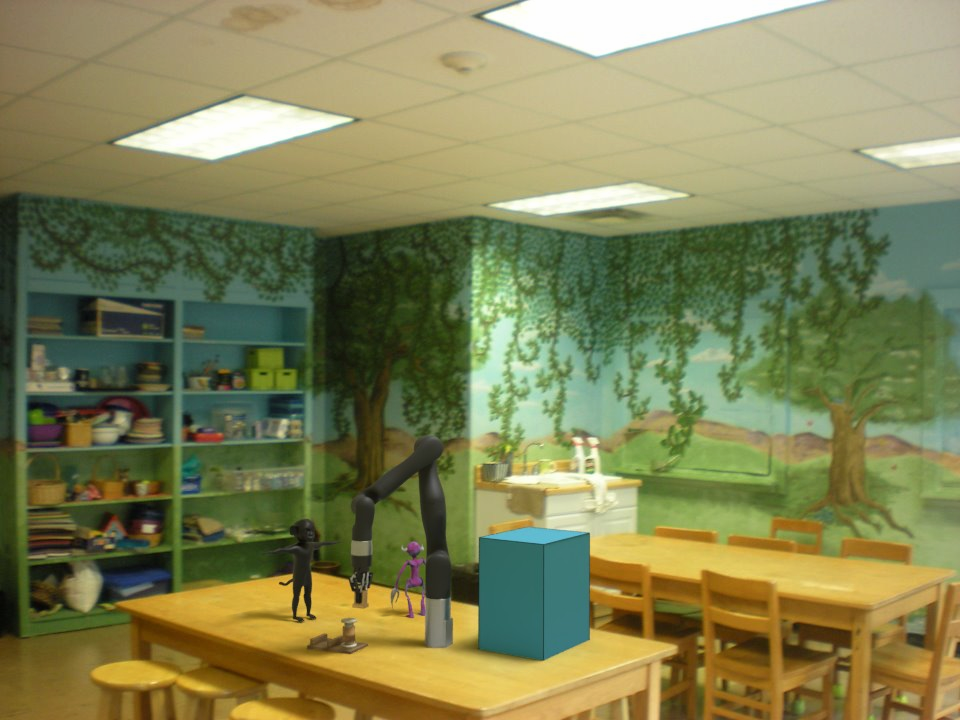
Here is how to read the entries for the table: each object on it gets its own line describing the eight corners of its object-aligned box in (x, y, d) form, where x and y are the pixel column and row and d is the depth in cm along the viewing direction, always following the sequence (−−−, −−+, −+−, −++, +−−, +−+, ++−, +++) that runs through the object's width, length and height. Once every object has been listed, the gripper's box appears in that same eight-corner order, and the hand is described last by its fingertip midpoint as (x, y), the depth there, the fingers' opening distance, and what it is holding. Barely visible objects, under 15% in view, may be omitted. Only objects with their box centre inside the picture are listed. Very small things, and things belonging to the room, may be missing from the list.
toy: (425, 610, 409) (426, 538, 410) (438, 614, 402) (439, 540, 403) (387, 617, 397) (388, 542, 398) (400, 621, 390) (400, 545, 391)
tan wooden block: (368, 606, 344) (368, 589, 345) (363, 608, 341) (363, 591, 341) (357, 605, 346) (358, 588, 346) (352, 607, 343) (352, 590, 343)
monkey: (271, 630, 374) (273, 525, 375) (238, 622, 387) (240, 520, 388) (348, 612, 404) (349, 515, 405) (316, 605, 417) (316, 511, 418)
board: (368, 646, 351) (368, 617, 351) (350, 654, 340) (351, 624, 340) (325, 641, 358) (325, 612, 359) (307, 649, 347) (307, 619, 348)
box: (478, 651, 346) (478, 537, 347) (527, 632, 374) (527, 526, 375) (543, 663, 331) (543, 544, 332) (589, 642, 359) (590, 532, 360)
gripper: (360, 556, 336) (359, 607, 336) (380, 551, 349) (379, 600, 348) (341, 554, 339) (340, 605, 339) (362, 549, 352) (361, 597, 351)
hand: (360, 602), depth 344 cm, fingers closed on tan wooden block, 2 cm apart
